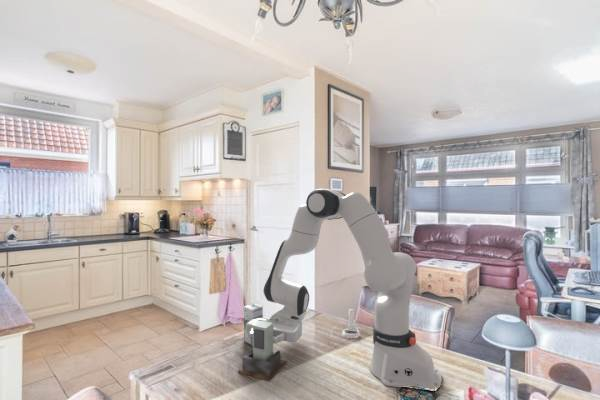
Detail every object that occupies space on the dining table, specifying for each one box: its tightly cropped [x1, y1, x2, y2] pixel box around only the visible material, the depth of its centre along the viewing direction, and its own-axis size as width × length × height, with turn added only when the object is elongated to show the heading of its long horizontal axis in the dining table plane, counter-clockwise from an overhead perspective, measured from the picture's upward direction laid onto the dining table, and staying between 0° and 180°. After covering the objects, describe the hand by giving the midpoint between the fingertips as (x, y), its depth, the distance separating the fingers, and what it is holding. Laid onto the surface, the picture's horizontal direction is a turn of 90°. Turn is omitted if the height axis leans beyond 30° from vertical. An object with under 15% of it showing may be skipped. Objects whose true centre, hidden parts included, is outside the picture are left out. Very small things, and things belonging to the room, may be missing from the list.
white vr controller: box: [341, 308, 361, 340], centre depth 136 cm, size 8×12×7 cm
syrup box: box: [243, 303, 264, 347], centre depth 128 cm, size 6×6×14 cm
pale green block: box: [252, 321, 274, 361], centre depth 108 cm, size 5×6×14 cm
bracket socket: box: [237, 350, 288, 382], centre depth 108 cm, size 12×12×5 cm
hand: (261, 338), depth 107 cm, fingers open, 8 cm apart
